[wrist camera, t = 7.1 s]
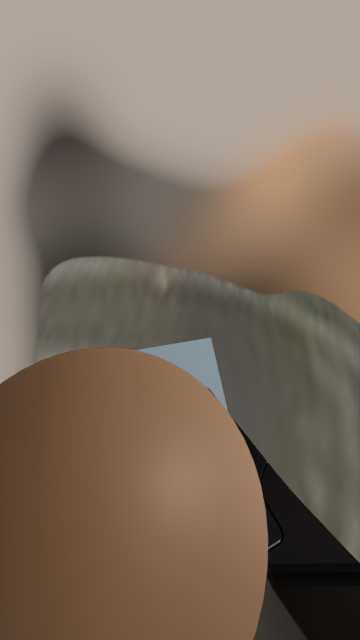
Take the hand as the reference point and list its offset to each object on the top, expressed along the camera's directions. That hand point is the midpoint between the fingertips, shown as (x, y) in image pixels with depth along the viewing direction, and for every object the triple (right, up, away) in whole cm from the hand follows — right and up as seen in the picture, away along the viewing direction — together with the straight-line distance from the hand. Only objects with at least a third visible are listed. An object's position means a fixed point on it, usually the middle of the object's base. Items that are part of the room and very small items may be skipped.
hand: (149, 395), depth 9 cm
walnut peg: (0, -3, +6) cm, 7 cm away
